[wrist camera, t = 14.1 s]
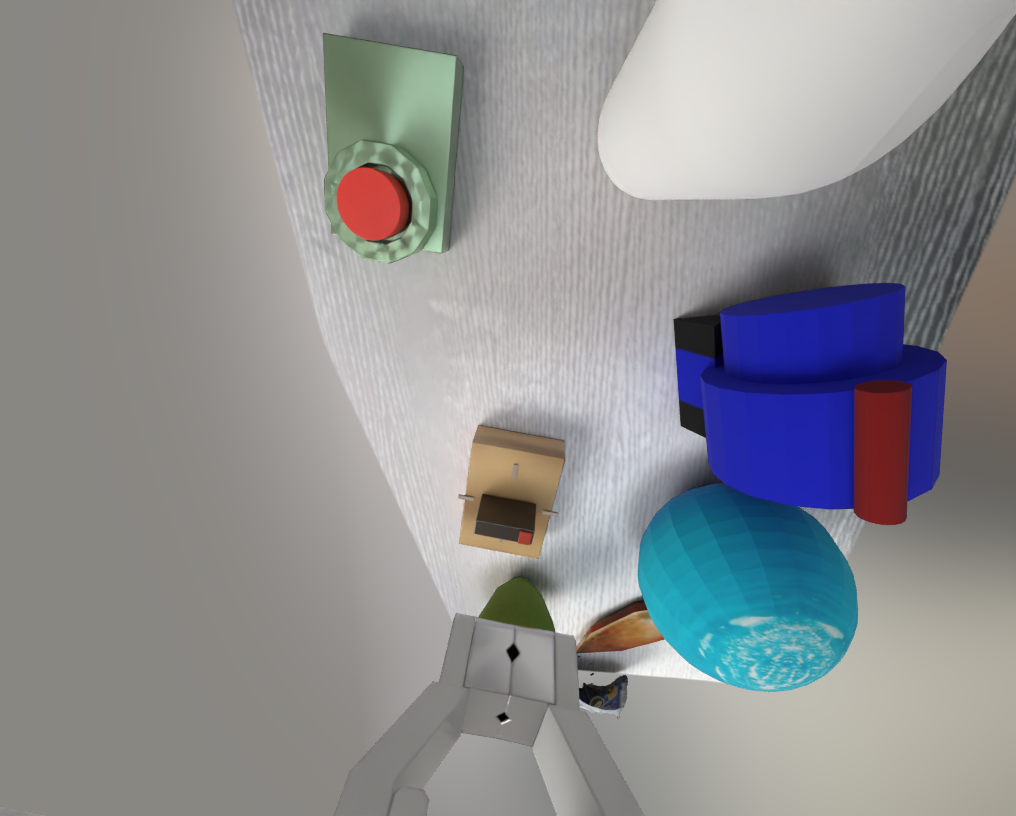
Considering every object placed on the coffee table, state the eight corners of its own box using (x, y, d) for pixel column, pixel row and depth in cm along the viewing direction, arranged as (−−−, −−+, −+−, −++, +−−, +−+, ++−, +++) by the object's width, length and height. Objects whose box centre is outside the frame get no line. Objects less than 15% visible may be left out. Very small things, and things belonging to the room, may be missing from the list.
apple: (467, 577, 46) (443, 683, 36) (525, 547, 43) (517, 653, 33) (514, 620, 49) (504, 730, 39) (572, 594, 46) (578, 707, 36)
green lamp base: (339, 45, 26) (305, 20, 22) (463, 66, 26) (449, 44, 22) (345, 245, 31) (319, 251, 28) (447, 263, 31) (434, 271, 28)
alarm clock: (681, 432, 36) (758, 569, 22) (671, 292, 30) (765, 361, 17) (837, 408, 33) (1028, 546, 20) (855, 253, 28) (1129, 298, 15)
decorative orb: (817, 459, 36) (976, 614, 22) (755, 579, 42) (848, 751, 29) (644, 438, 36) (697, 575, 23) (611, 559, 43) (637, 719, 30)
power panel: (471, 423, 37) (465, 441, 34) (570, 442, 37) (572, 461, 34) (458, 521, 43) (452, 544, 40) (545, 537, 43) (544, 561, 40)
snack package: (552, 703, 42) (646, 722, 45) (552, 636, 47) (637, 656, 50) (505, 720, 50) (587, 735, 53) (509, 661, 55) (584, 677, 58)
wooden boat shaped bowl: (580, 647, 50) (581, 662, 49) (558, 620, 48) (558, 634, 47) (695, 615, 46) (700, 630, 44) (676, 584, 44) (680, 598, 42)
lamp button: (348, 164, 26) (334, 161, 24) (410, 175, 25) (401, 173, 24) (349, 232, 27) (337, 234, 26) (408, 243, 27) (399, 245, 26)
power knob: (479, 506, 38) (472, 536, 34) (482, 493, 37) (475, 522, 34) (533, 516, 38) (531, 547, 34) (536, 503, 37) (534, 533, 34)
